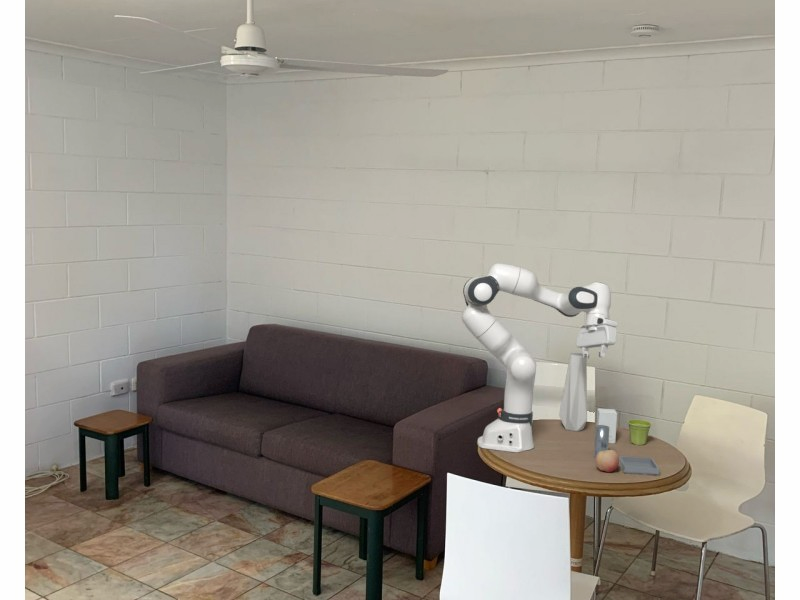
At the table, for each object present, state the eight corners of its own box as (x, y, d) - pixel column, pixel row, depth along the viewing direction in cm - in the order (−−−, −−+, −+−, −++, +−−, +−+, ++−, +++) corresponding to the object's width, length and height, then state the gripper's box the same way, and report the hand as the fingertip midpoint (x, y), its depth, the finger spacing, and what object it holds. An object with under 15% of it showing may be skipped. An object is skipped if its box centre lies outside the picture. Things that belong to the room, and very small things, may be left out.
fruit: (604, 466, 280) (606, 445, 279) (622, 472, 274) (624, 450, 273) (590, 469, 276) (591, 448, 275) (608, 476, 269) (609, 454, 268)
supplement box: (615, 443, 308) (617, 413, 307) (597, 442, 309) (598, 412, 308) (613, 438, 315) (615, 409, 314) (595, 437, 317) (597, 407, 315)
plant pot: (651, 447, 304) (653, 426, 303) (627, 445, 306) (628, 424, 305) (648, 440, 314) (650, 420, 312) (625, 438, 315) (626, 418, 314)
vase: (577, 434, 319) (582, 358, 315) (555, 428, 328) (559, 353, 324) (594, 429, 327) (598, 355, 324) (571, 423, 336) (575, 350, 332)
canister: (594, 458, 288) (596, 428, 287) (593, 454, 293) (595, 424, 292) (608, 459, 288) (610, 429, 286) (606, 455, 292) (608, 425, 291)
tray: (624, 473, 273) (624, 466, 272) (618, 462, 285) (619, 455, 284) (659, 475, 271) (659, 468, 271) (652, 464, 283) (652, 458, 283)
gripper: (574, 324, 305) (570, 358, 302) (607, 318, 287) (604, 354, 284) (586, 327, 308) (583, 361, 305) (620, 322, 289) (617, 357, 286)
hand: (593, 357), depth 294 cm, fingers open, 8 cm apart
